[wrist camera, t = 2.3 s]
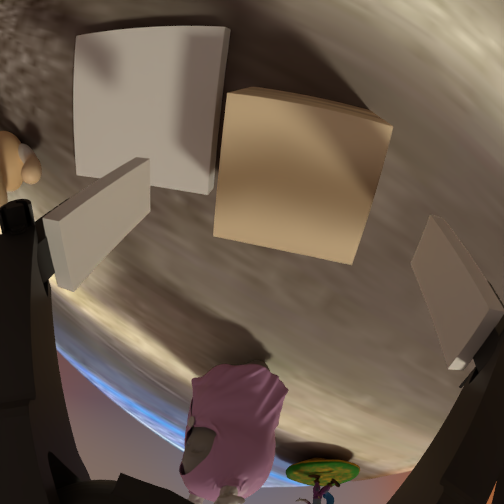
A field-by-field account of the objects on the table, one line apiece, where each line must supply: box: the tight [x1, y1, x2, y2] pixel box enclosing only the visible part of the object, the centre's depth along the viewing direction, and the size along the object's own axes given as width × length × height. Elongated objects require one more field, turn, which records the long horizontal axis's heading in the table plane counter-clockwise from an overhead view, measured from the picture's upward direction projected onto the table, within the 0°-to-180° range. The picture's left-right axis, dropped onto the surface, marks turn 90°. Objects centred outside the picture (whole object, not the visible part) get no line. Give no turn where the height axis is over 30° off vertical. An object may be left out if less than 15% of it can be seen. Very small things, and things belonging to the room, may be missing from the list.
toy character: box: [179, 360, 288, 504], centre depth 27 cm, size 12×10×20 cm
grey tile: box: [73, 26, 231, 195], centre depth 21 cm, size 12×12×2 cm
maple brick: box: [213, 87, 393, 265], centre depth 19 cm, size 8×8×7 cm
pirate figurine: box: [286, 458, 360, 504], centre depth 41 cm, size 14×13×15 cm
